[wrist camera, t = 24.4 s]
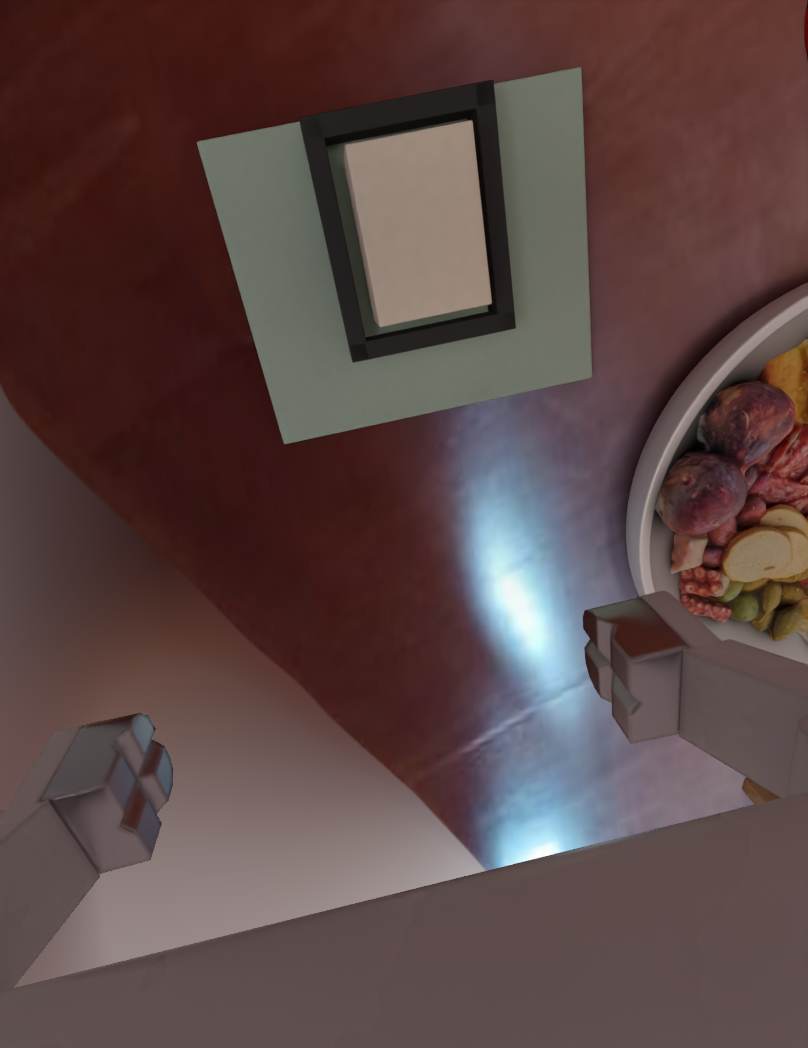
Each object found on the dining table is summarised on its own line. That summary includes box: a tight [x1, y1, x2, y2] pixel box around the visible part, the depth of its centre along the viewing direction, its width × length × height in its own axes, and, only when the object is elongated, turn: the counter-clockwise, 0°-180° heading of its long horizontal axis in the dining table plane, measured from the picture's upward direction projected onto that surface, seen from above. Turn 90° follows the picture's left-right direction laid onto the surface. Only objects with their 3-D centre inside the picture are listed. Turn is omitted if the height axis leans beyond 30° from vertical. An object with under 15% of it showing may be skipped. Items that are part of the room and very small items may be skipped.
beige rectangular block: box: [343, 120, 492, 327], centre depth 29 cm, size 6×8×4 cm
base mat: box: [197, 67, 592, 444], centre depth 31 cm, size 20×16×3 cm
